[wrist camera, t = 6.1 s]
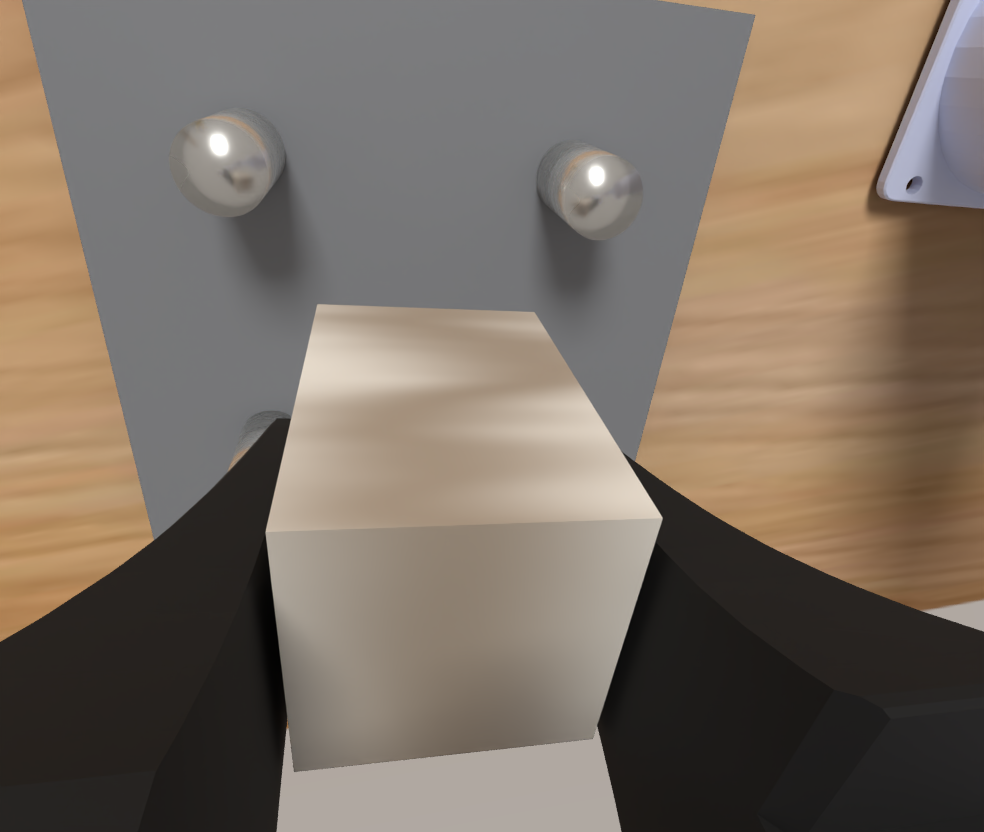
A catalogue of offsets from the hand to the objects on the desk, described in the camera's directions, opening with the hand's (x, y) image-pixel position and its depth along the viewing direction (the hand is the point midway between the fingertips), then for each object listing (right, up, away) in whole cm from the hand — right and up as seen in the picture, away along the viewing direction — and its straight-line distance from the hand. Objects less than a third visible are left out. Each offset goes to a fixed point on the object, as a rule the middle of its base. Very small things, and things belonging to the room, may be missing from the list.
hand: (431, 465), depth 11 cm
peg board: (-1, +4, +7) cm, 8 cm away
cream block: (0, +1, +1) cm, 2 cm away
